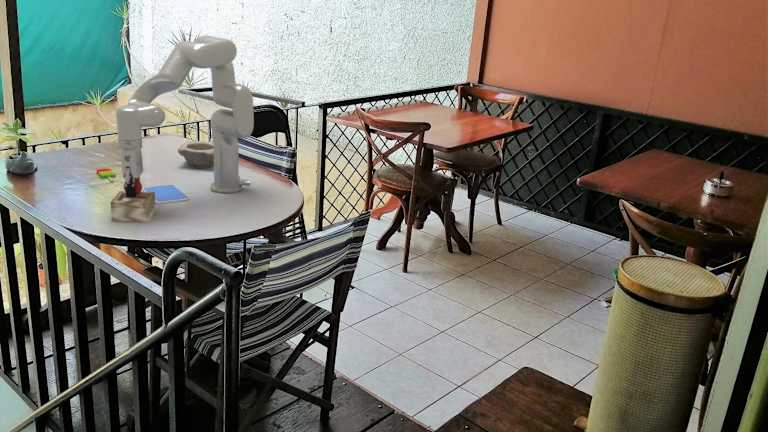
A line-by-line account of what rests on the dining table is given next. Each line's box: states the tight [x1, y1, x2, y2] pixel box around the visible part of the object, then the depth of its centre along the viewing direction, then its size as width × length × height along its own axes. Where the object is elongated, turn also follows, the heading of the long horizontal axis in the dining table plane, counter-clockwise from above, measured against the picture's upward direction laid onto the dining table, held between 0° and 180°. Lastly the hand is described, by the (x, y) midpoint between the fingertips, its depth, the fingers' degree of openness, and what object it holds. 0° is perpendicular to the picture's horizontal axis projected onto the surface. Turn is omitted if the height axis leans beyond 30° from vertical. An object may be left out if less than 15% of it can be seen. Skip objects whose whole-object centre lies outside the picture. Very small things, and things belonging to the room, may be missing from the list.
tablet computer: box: [141, 184, 191, 205], centre depth 261 cm, size 19×13×1 cm, turn 35°
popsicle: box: [96, 168, 117, 183], centre depth 276 cm, size 6×15×2 cm, turn 34°
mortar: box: [177, 140, 214, 169], centre depth 298 cm, size 17×17×9 cm
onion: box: [123, 176, 143, 196], centre depth 235 cm, size 6×6×8 cm
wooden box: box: [110, 190, 157, 223], centre depth 237 cm, size 12×12×7 cm
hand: (133, 193), depth 236 cm, fingers closed on onion, 5 cm apart
